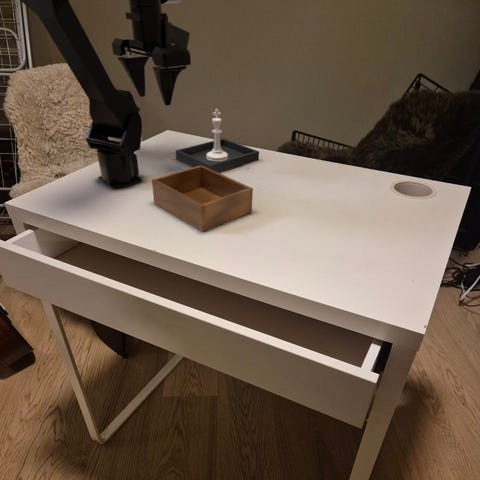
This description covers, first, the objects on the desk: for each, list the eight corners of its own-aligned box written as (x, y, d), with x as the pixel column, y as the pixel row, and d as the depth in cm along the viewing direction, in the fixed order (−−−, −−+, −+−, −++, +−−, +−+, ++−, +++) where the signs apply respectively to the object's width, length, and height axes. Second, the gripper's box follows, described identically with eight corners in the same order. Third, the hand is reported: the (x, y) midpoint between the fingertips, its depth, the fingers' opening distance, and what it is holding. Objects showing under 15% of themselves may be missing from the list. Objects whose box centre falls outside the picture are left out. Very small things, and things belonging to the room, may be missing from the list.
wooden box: (202, 231, 68) (201, 206, 65) (154, 203, 76) (151, 179, 73) (251, 212, 74) (252, 188, 71) (202, 187, 82) (201, 165, 79)
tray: (210, 175, 87) (210, 165, 85) (176, 159, 93) (175, 150, 92) (258, 160, 94) (259, 151, 93) (223, 146, 101) (223, 138, 100)
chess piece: (202, 155, 94) (201, 107, 88) (222, 152, 96) (221, 105, 90) (212, 162, 91) (211, 113, 84) (231, 159, 93) (232, 110, 86)
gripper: (212, 8, 74) (214, 104, 84) (153, 1, 84) (161, 87, 95) (160, 10, 68) (168, 112, 78) (104, 2, 79) (118, 94, 89)
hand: (154, 100), depth 85 cm, fingers open, 9 cm apart
